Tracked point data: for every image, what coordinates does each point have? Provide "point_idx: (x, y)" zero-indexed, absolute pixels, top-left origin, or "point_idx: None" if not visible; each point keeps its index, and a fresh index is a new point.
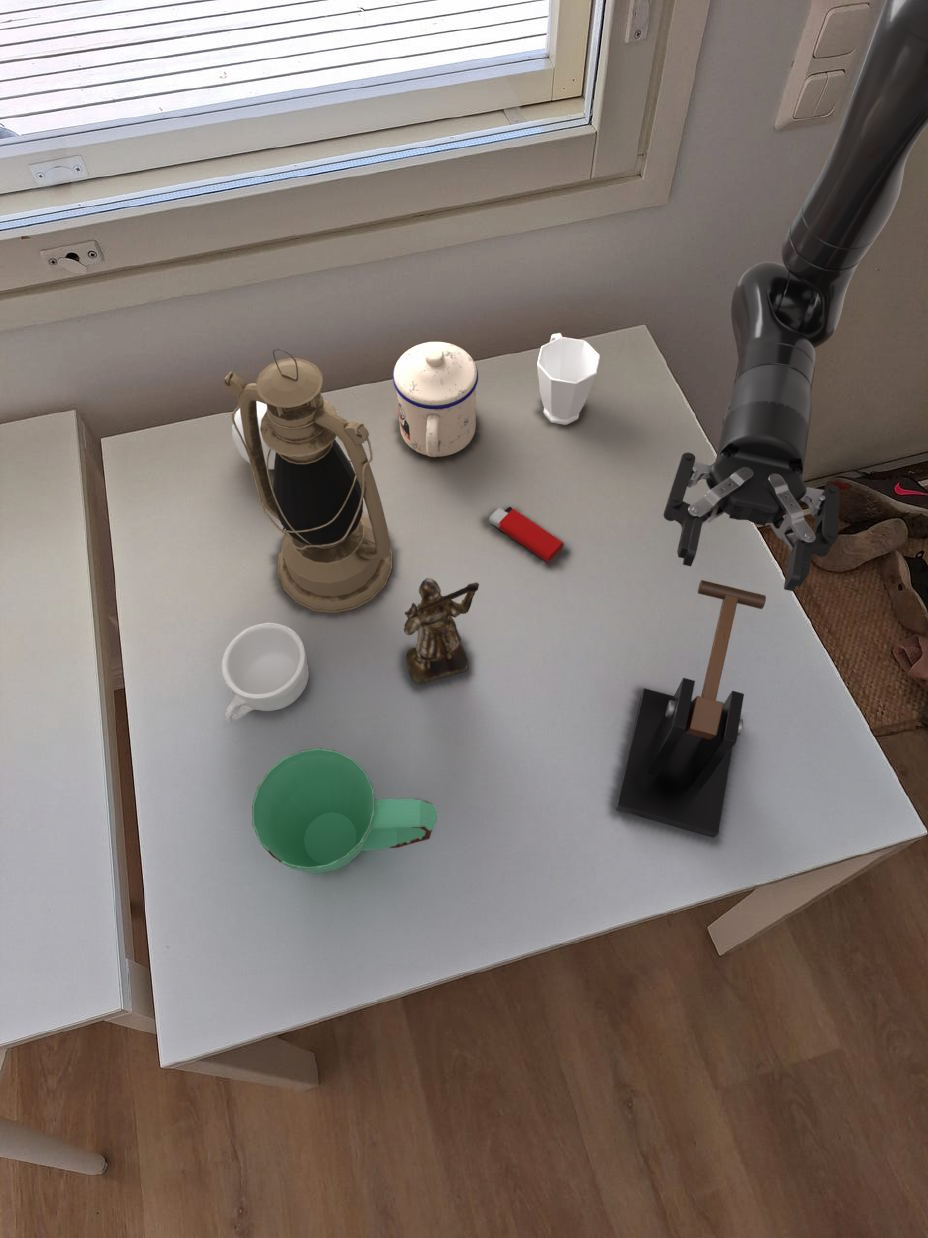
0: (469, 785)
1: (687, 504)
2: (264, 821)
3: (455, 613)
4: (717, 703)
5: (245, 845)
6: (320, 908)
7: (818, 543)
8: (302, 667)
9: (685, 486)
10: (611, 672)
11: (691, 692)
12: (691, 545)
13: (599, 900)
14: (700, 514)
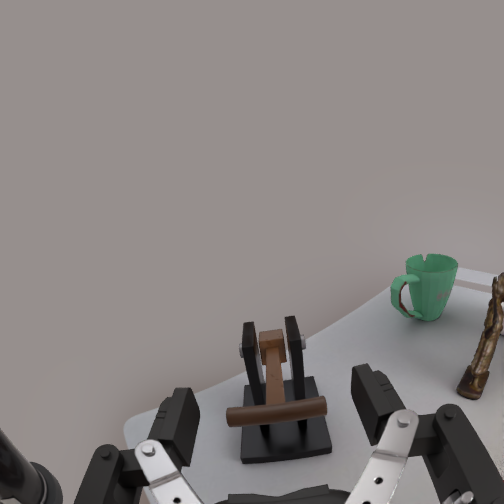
0: (399, 354)
1: (424, 435)
2: (442, 268)
3: (485, 319)
4: (264, 340)
5: (447, 300)
6: (407, 303)
7: (132, 451)
8: (502, 306)
9: (455, 447)
10: (365, 455)
11: (289, 333)
12: (367, 369)
13: (302, 350)
14: (389, 418)
